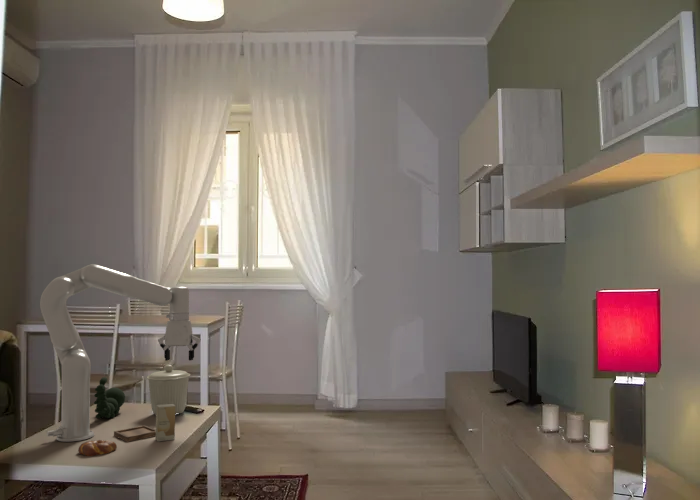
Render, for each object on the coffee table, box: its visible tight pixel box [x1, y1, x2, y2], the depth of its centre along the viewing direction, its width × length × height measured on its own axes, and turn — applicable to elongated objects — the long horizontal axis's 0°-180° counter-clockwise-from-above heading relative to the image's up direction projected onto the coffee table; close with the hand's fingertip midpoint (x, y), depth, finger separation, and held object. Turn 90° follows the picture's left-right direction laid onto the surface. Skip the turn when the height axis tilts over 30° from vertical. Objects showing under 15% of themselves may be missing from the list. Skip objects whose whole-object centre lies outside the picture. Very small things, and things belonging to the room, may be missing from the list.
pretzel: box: [77, 439, 118, 457], centre depth 197 cm, size 12×11×4 cm
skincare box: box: [155, 404, 176, 442], centre depth 211 cm, size 6×4×12 cm
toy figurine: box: [93, 376, 126, 419], centre depth 249 cm, size 9×19×25 cm
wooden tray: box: [113, 425, 156, 443], centre depth 216 cm, size 12×12×2 cm
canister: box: [146, 364, 191, 416], centre depth 251 cm, size 18×18×21 cm
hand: (179, 360), depth 233 cm, fingers open, 9 cm apart
